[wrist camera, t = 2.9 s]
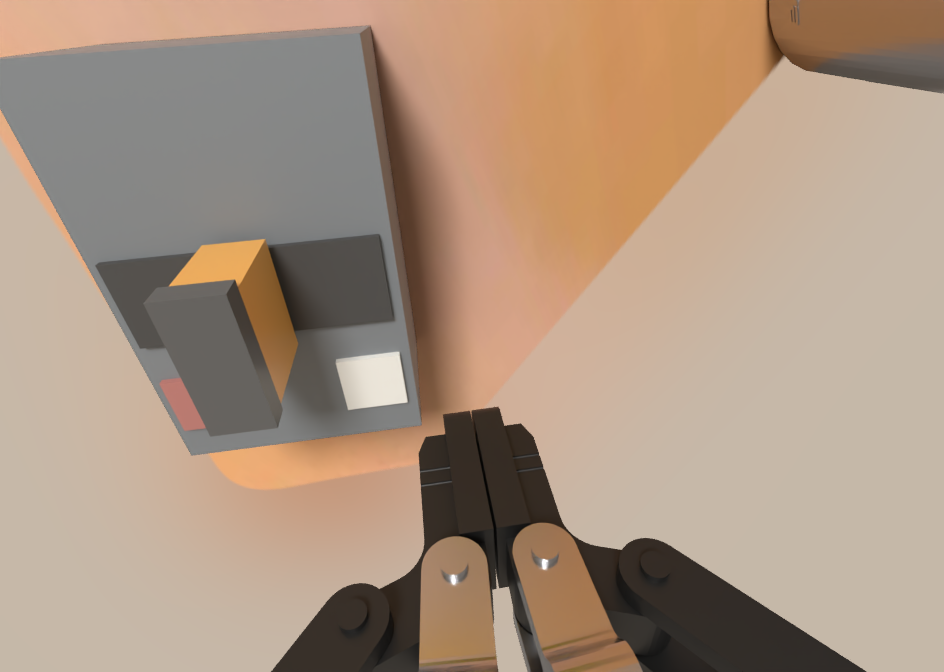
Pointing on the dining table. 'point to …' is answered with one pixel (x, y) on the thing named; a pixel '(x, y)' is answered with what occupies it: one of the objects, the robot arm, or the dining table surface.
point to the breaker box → (235, 203)
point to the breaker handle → (228, 335)
